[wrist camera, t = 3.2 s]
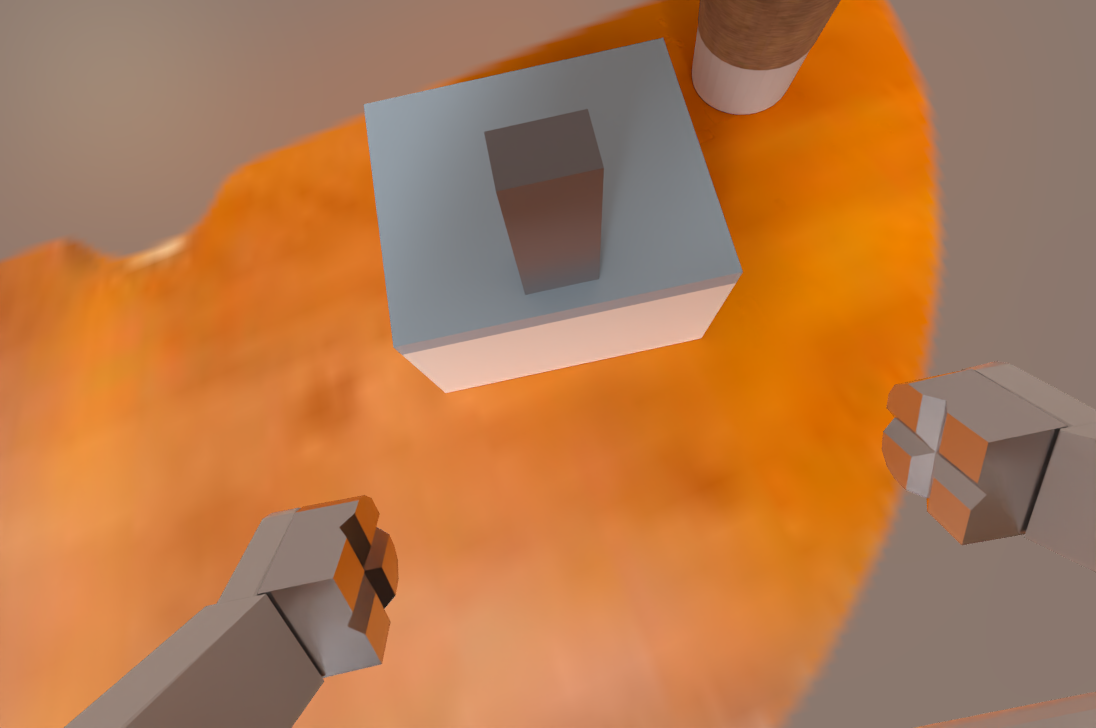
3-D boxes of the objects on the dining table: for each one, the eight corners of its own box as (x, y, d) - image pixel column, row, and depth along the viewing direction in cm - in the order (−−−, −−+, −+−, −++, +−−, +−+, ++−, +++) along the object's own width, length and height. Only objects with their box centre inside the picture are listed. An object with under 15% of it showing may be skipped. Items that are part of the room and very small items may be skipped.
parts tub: (445, 393, 29) (402, 355, 22) (417, 203, 32) (372, 120, 25) (701, 338, 28) (735, 282, 22) (645, 153, 32) (660, 55, 25)
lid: (410, 361, 23) (302, 267, 14) (380, 134, 26) (278, -53, 18) (729, 292, 23) (816, 154, 14) (657, 72, 26) (691, -147, 17)
